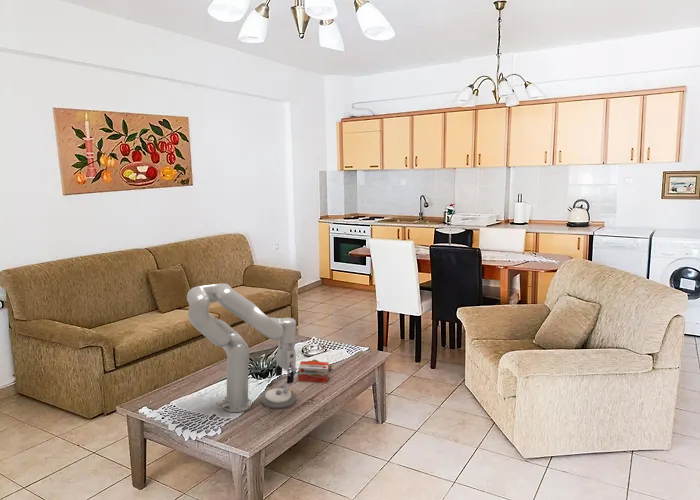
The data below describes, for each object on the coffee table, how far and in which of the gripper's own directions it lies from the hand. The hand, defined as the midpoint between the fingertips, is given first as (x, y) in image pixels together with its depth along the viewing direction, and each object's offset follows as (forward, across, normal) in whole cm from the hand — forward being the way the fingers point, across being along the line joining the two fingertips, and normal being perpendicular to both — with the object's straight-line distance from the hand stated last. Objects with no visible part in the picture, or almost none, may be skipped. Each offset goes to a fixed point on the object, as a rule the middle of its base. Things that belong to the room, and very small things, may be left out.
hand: (284, 379), depth 242 cm
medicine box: (+9, +9, -24) cm, 28 cm away
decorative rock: (+9, +18, -33) cm, 39 cm away
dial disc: (+8, 0, +2) cm, 8 cm away
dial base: (+10, 0, +3) cm, 10 cm away
